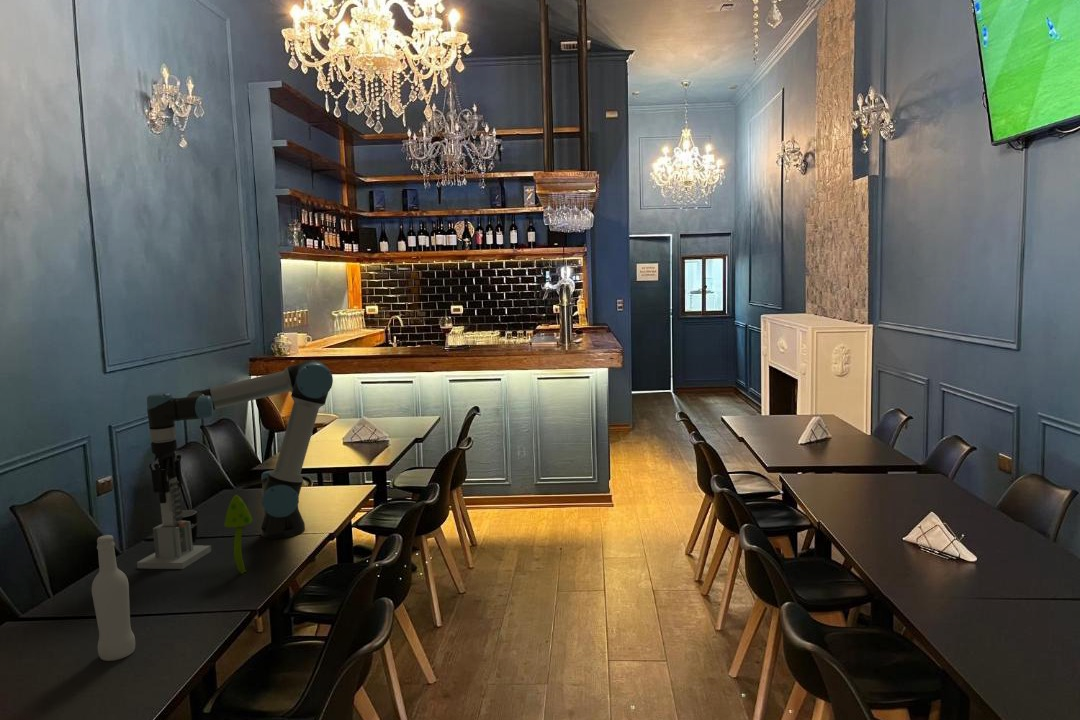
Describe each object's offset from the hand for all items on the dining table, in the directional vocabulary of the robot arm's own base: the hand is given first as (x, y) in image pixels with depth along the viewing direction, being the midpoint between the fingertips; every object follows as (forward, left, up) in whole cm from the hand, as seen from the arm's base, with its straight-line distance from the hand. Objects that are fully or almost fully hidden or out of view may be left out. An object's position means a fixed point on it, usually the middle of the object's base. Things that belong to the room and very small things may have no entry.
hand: (170, 509), depth 255 cm
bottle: (-27, +63, -17) cm, 71 cm away
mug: (+8, -19, -17) cm, 27 cm away
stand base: (0, 0, -17) cm, 17 cm away
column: (0, 0, -11) cm, 11 cm away
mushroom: (-30, +10, -17) cm, 36 cm away
